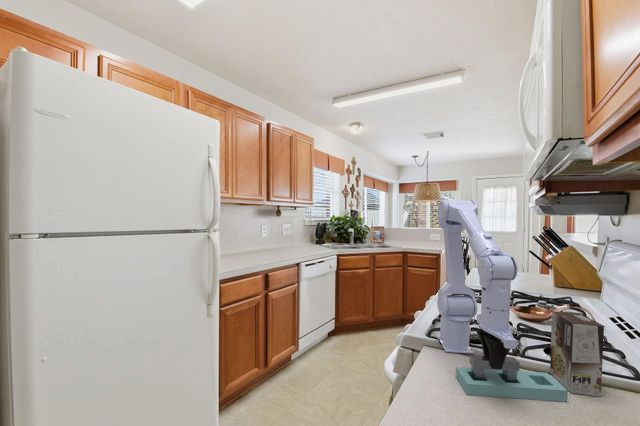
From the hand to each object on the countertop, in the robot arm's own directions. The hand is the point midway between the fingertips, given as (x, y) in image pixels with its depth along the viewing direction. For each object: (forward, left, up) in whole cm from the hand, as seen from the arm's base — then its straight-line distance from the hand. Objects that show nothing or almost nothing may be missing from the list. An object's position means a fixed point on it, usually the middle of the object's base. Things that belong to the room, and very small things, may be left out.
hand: (493, 364), depth 71 cm
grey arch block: (0, 0, -3) cm, 4 cm away
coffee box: (-4, +20, -6) cm, 22 cm away
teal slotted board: (0, +3, -5) cm, 6 cm away
